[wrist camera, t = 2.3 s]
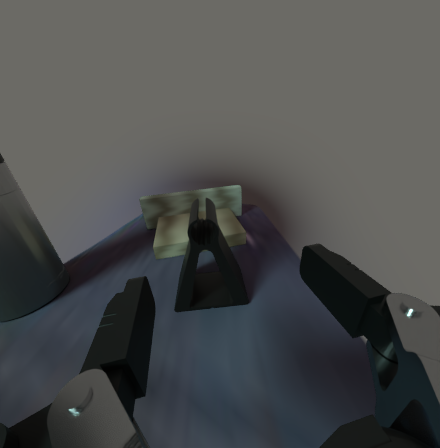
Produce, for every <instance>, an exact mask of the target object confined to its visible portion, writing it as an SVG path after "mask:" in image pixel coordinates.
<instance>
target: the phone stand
mask: <svg viewBox="0 0 440 448" xmlns="http://www.w3.org/2000/svg"><path fill="white" fill-rule="evenodd" d="M205 203H206V219H205V220H204V219H203V218H202V219H199V217H198V213H199V199H198V198H197V199H196V200H195V201H194V202H193V203H192V205H191V211H190V218H189V225H188V232H187V233H188V237H189V241H188V245H187V249H186V253H185V257H184V261H183V265H182V269H181V272H180V277H179V284H178V290H177V296H176V303H175V309H174V310H175V312H183V311H192V310H201V309H210V308H211V307H213V308H219V307H228V306H237V305H246V304H248V303H249V301H248V297H247V293H246V289H245V285H244V282H243V278H242V274H241V270H240V268H239V266H238V264H237V262H236V260H235V257H234V255H233V253H232V251H231V249H230V247H229V245H228V243H227V241H226V239H225V237H224V235H223V233H222V231H221V229H220V227H219V225H218V222H217V215H216V209H215V205H214V203H213V201H212V200H210V199H209V198H206V199H205ZM203 250H209V251H211V252H212V253H213V255H214V257H215V260H216V262H217V264H218V267H219V269H220V271H219V272H209V273H199V274H196V268H197V263H198V257H199V253H200V252H201V251H203Z"/></svg>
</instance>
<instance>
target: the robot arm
mask: <svg viewBox="0 0 440 448" xmlns="http://www.w3.org/2000/svg"><path fill="white" fill-rule="evenodd" d="M3 161H4V159H3V157H2V156H1V154H0V322H3V321H8V320H12V319H15V318H18V317H21V316H23V315H26V314H28V313H30V312H32V311H34V310H36V309H38V308H40V307H41V306H43V305H45V304H46V303H48V302H49V301H51V300H52V299H53V298H55V297H56V296H57V295H58V294H59V293H60V292H62V290H63V289H64V288H65V287H66V286H67V284H68V282H69V278H70V277H69V274H68V272H67V270H66V268H65V267H64V265H63V263H62V261H61V260H60V258H59V256H58V254H57V252H56V250H55V249H54V247H53V245H52V244H51V242H50V240H49V238H48V236H47V235H46V233H45V231H44V230H43V228H42V226H41V224H40V222H39V221H38V219H37V217H36V216H35V214H34V212H33V210H32V208H31V207H30V205H29V203H28V201H27V200H26V198H25V196H24V194H23V193H22V191H21V189H20V188H19V186H18V184H17V182H16V180H15V179H14V177H13V175H12V173H11V172H10V170H9V168H8V166H7V165H6V163H5V162H3ZM300 275H301V278H302V279H303V281H304V282H305V283H306V284H307V286H308V287H309V288H310V289H311V290H312V291H313V293H314V294H315V295H316V296H317V297H318V298H319V300H320V301H321V302H322V303H323V304H324V305H325V307H326V308H327V309H328V310H329V311H330V312H331V314H332V315H333V316H334V317H335V318H336V319H337V321H338V322H339V323H340V324H341V325H342V326H343V327H344V329H345V330H346V331H347V332H348V333H349V334H350V336H351V337H352V338H356V337H360V336H363V335H364V336H365V337H366V338H367V339H368V340H367V343H366V347H367V352H368V357H369V362H370V367H371V371H372V376H373V381H374V386H375V391H376V406H375V417H374V416H373V415H369V416H367V417H364V418H361V419H358V420H356V421H353V422H350V423H347V424H345V425H342V426H340V427H339V428H338V429H337V430H336V431H335V432H334V433H333V434H332V435H331V436H330V437H329V438H328V439H327V440H326V441H325V442H324V443H323V444H322V445H321V446H320V447H319V448H440V306H430V305H428V304H427V303H425V302H423V301H422V300H420V299H418V298H416V297H413V296H410V295H407V294H402V293H391V292H390V291H388V290H387V289H386V288H384V287H383V286H382V285H380V284H379V283H377V282H376V281H375V280H373V279H372V278H371V277H369V276H368V275H367V274H365V273H364V272H363V271H361V270H359V269H358V268H357V267H356V266H355V265H353V264H351V262H349V261H348V260H347V259H345V258H344V257H342V256H340V255H338V254H336V253H334V252H331V251H329V250H328V249H326V248H325V247H324V246H322V245H321V244H315V245H309V246H305V247H304V248H303V250H302V257H301V263H300ZM154 320H155V301H154V297H153V294H152V291H151V288H150V285H149V282H148V279H147V277H146V276H144V277H139V278H134V279H129V280H128V281H127V283H126V286H125V289H124V292H122V293H117V294H116V295H115V296H114V297H113V298H112V300H111V301H110V302H109V303H108V305H107V307H106V310H105V312H104V315H103V318H102V320H101V322H100V325H99V328H98V330H97V332H96V334H95V337H94V339H93V342H92V344H91V347H90V349H89V352H88V354H87V357H86V359H85V362H84V364H83V367H82V369H81V371H80V373H79V375H77V376H76V377H75V378H73V379H72V380H71V381H70V382H68V383H67V384H66V385H65V386H64V387H63V389H62V390H61V391H60V392H59V394H58V395H57V396H56V398H55V400H54V401H53V403H51V404H50V405H48V406H47V407H45V408H43V409H42V410H40V411H38V412H36V413H35V414H33V415H31V416H30V417H28V418H26V419H24V420H23V421H21V422H19V423H17V424H16V425H14V426H12V427H10V428H8V427H6V426H5V425H3V424H2V423H0V448H150V447H149V445H148V443H147V441H146V439H145V437H144V435H143V434H142V432H141V430H140V428H139V426H138V424H137V423H136V421H135V419H134V417H133V411H134V404H135V399H137V398H141V397H144V396H146V387H147V379H148V370H149V362H150V353H151V345H152V336H153V328H154Z"/></svg>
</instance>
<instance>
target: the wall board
mask: <svg viewBox="0 0 440 448" xmlns="http://www.w3.org/2000/svg"><path fill="white" fill-rule="evenodd" d="M241 197H242V196H241V186H239V185H235V186H226V187H218V188H209V189H202V190H193V191H186V192H176V193H168V194H160V195H151V196H143V197H141V198H140V199H139V200H140V204H141V208H142V212H143V215H144V219H145V223H146V226H147V229H153V228H157V229H156V234H155V239H154V245H153V249H154V253H155V257H156V259H162V258H167V257H173V256H179V255H185V253H186V249H187V245H188V241H189V237H188V233H187V232H188V225H189V218H190V211H191V205H192V203H193V202H194V201H195V200H196V199H197V198H198V199H199V213H198V217H199V219H202V218H203V219H204V220H205V219H206V203H205V199H206V198H209V199H210V200H212V201H213V203H214V205H215V209H216V215H217V222H218V225H219V227H220V229H221V231H222V233H223V235H224V237H225V239H226V241H227V243H228V245H229V247H231V246H237V245H243V244H246V231H245V230H244V228H243V227H242V225H241V224H240V223H239V221H238V220H237V218H236V217H235V216H242V200H241V199H242V198H241ZM203 251H208V250H203ZM201 252H202V251H201Z"/></svg>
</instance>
